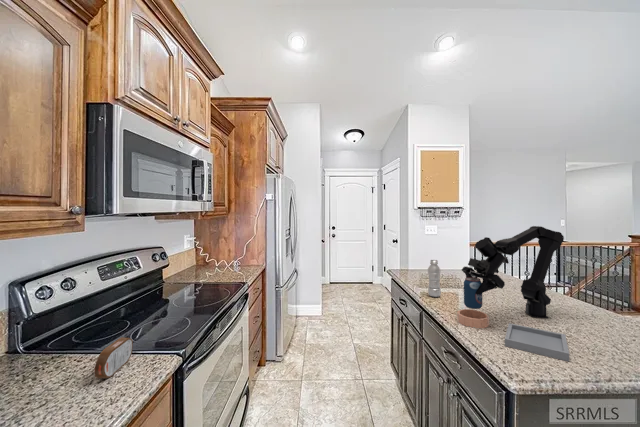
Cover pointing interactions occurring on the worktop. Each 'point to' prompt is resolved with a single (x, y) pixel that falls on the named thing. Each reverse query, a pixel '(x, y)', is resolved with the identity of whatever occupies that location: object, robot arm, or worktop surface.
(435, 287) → the plastic bottle
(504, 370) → the worktop surface
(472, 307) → the soda can
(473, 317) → the ring holder
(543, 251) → the robot arm
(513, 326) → the tray
